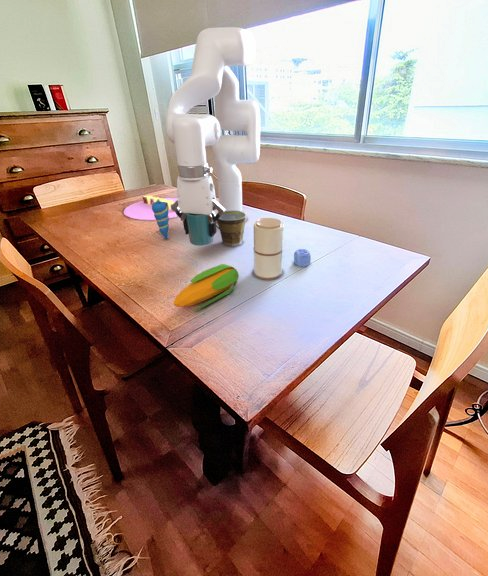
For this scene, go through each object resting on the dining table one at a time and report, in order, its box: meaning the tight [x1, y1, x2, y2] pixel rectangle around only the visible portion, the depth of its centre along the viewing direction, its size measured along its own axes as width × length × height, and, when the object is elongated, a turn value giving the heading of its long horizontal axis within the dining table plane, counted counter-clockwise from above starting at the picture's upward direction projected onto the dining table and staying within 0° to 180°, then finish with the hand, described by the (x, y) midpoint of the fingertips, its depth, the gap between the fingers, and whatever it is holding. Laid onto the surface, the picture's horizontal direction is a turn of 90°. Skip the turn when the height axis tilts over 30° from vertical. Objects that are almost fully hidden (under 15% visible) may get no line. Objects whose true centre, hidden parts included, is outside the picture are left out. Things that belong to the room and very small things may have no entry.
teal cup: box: [186, 213, 214, 247], centre depth 87 cm, size 7×7×9 cm
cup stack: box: [253, 217, 285, 281], centre depth 83 cm, size 8×8×15 cm
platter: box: [123, 194, 179, 221], centre depth 137 cm, size 32×32×3 cm
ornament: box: [152, 197, 170, 240], centre depth 103 cm, size 5×5×15 cm
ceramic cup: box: [216, 210, 247, 247], centre depth 102 cm, size 13×10×10 cm
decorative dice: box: [293, 248, 311, 267], centre depth 90 cm, size 4×4×4 cm
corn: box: [172, 263, 240, 312], centre depth 74 cm, size 7×8×20 cm
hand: (200, 233), depth 88 cm, fingers closed on teal cup, 7 cm apart
